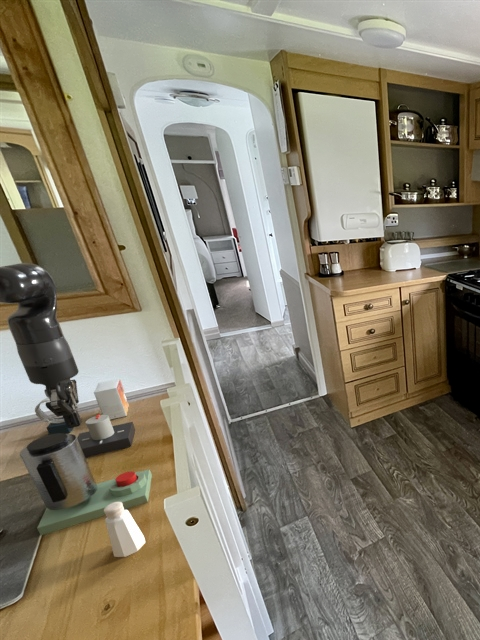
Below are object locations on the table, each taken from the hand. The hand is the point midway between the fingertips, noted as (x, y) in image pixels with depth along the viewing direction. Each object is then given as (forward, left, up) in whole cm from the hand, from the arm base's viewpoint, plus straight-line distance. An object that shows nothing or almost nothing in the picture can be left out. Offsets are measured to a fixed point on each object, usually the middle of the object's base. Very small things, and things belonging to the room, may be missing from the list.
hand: (75, 425), depth 88 cm
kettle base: (+1, -8, -18) cm, 19 cm away
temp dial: (-2, +21, -15) cm, 26 cm away
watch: (-14, +37, -18) cm, 43 cm away
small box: (-2, +41, -18) cm, 45 cm away
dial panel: (-2, +21, -18) cm, 28 cm away
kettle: (-3, -8, -14) cm, 16 cm away
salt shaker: (+8, -27, -18) cm, 33 cm away
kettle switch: (+7, -8, -14) cm, 17 cm away
